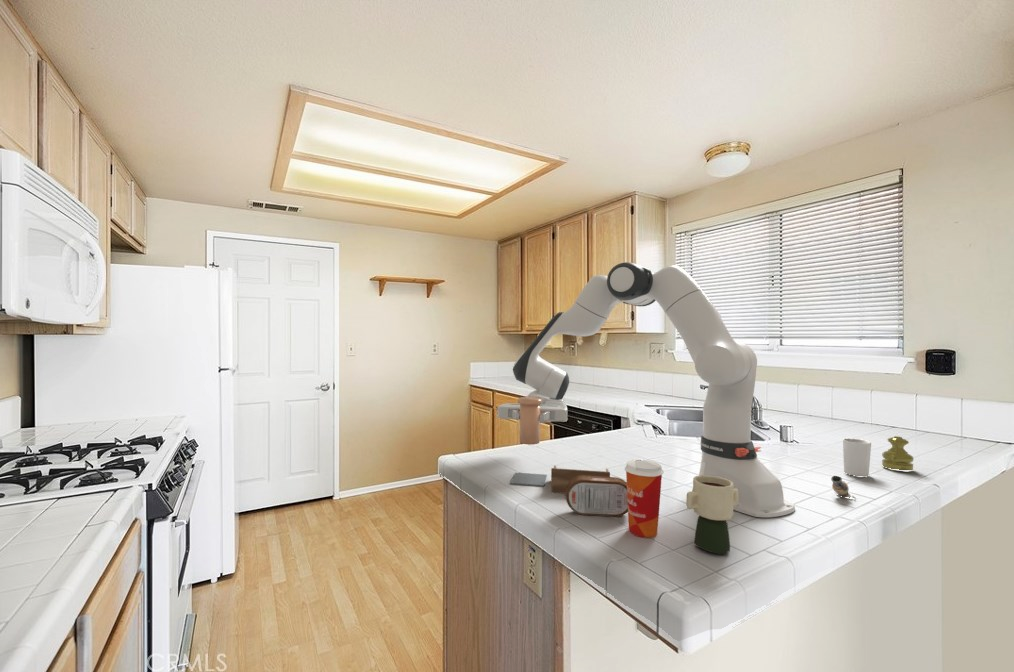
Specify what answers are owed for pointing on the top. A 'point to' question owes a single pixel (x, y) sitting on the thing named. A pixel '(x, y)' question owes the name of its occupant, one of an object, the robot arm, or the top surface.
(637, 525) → the paper cup
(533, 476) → the slate mat
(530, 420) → the peach capped cylinder
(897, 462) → the gold chess piece
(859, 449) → the white cup
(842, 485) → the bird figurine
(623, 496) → the tin
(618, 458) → the top surface
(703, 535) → the character mug
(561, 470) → the wooden u-shaped open frame
